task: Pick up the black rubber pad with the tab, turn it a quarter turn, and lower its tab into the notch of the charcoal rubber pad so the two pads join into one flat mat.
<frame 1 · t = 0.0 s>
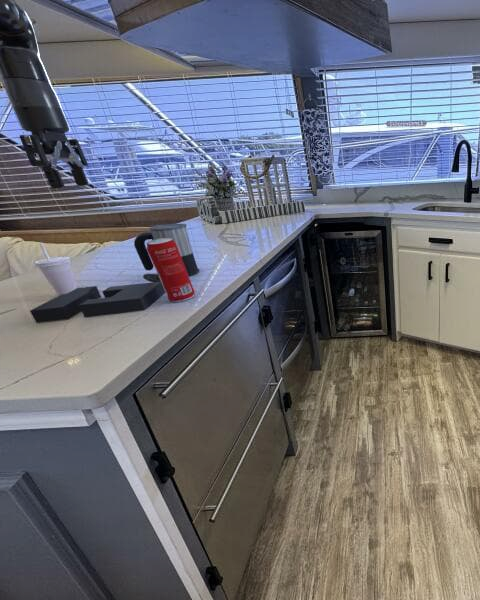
hand: (71, 186, 75), 27 cm above the worktop, tool pointing down, fingers open, 8 cm apart
smoothie: (69, 295, 86), on the worktop
milk frother: (175, 279, 96), on the worktop
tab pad: (68, 311, 75), on the worktop
notch pad: (128, 303, 79), on the worktop
beverage can: (181, 299, 80), on the worktop
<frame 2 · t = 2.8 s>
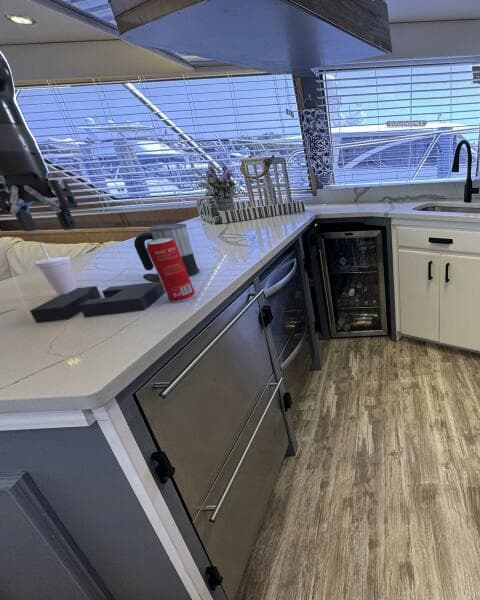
hand: (50, 230, 72), 18 cm above the worktop, tool pointing down, fingers open, 8 cm apart
nothing on the worktop moved.
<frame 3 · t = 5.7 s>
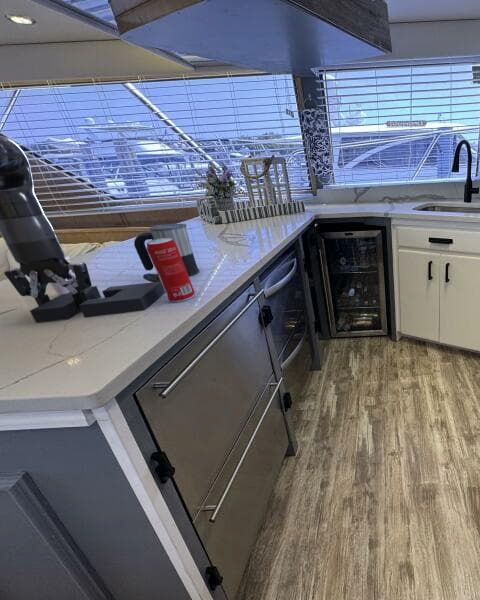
hand: (66, 308, 75), 1 cm above the worktop, tool pointing down, fingers closed on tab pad, 6 cm apart
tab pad: (68, 311, 75), on the worktop, touching gripper
everything else where it was.
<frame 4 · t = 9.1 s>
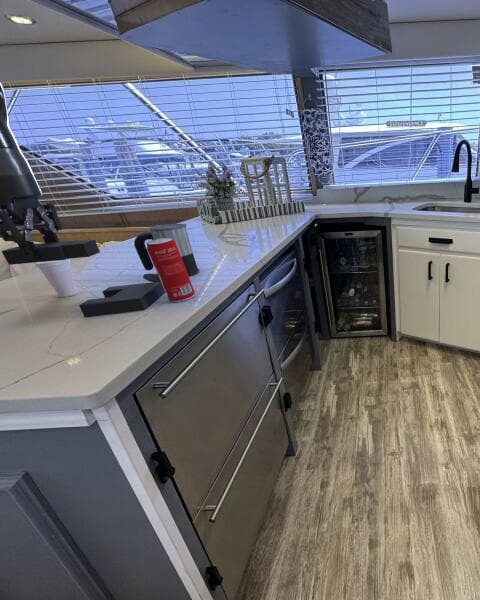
hand: (45, 255, 71), 14 cm above the worktop, tool pointing down, fingers closed on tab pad, 6 cm apart
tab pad: (47, 258, 71), point 13 cm above the worktop, touching gripper
everything else where it was.
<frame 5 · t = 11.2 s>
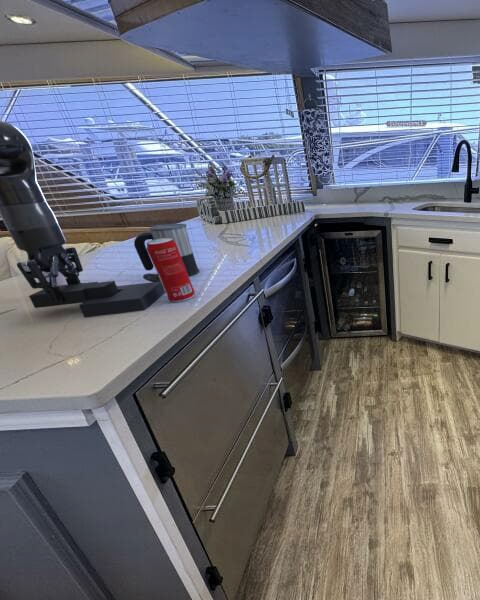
hand: (68, 297, 75), 3 cm above the worktop, tool pointing down, fingers closed on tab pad, 6 cm apart
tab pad: (70, 300, 75), point 2 cm above the worktop, touching gripper
everything else where it was.
when the fingers open (1 cm above the worktop, at t = 12.5 s): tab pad stays where it is, on the worktop.
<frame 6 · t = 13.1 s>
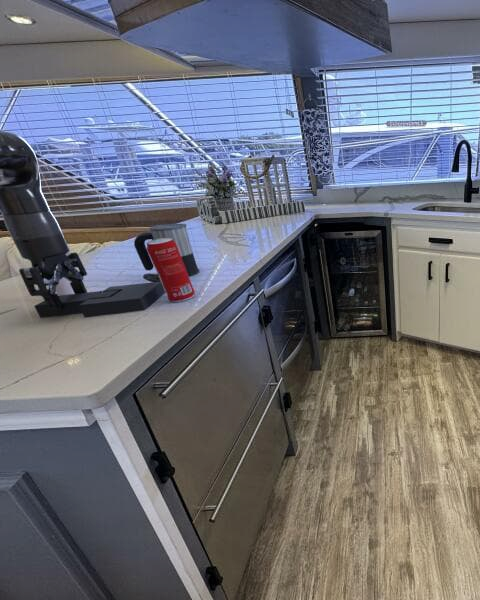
hand: (70, 302, 76), 2 cm above the worktop, tool pointing down, fingers open, 8 cm apart
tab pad: (75, 309, 76), on the worktop
everything else where it was.
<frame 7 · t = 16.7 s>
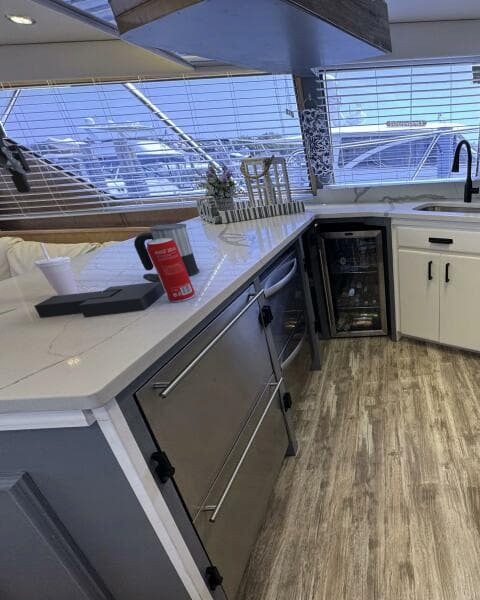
hand: (10, 194, 72), 26 cm above the worktop, tool pointing down, fingers open, 8 cm apart
nothing on the worktop moved.
at the end: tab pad 1.0 cm from the target spot on the worktop beside the notch pad, on the worktop; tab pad tilted 0°; the gripper is holding nothing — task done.
